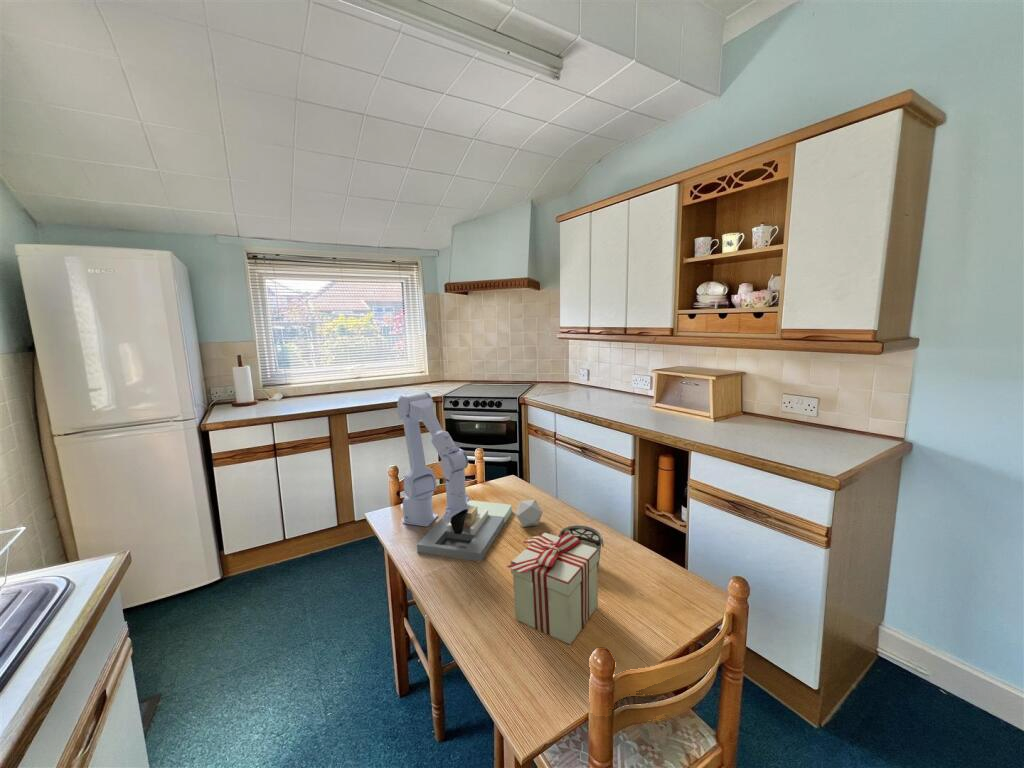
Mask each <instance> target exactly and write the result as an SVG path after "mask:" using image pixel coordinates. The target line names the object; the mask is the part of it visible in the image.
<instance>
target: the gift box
mask: <svg viewBox="0 0 1024 768" xmlns="http://www.w3.org/2000/svg"><path fill="white" fill-rule="evenodd" d="M580 542H581V541H580V540H579V539H578V538H576V537H575V536H573V535H572V534H571V533H569V532H566V533H564V534H563V535H562V536H561V537H559V535H553V534H551V533H549V532H548V533H547V532H543V533H542V534H541V535H540V534H538V535H535V536H532V537H531V538H529V539H527V540H523V541H522V543H523V544H529V545H528V546H527V547H526V548H525V549H524V550H522V552H520V553H519V554H518V555H517V556H516V557H515V558H514V559H511V561H510V565H507V566H506V567H507V568H509V569H510V573H511V575H512V577H513V578H512V579H513V600H514V601H513V602H514V615H515V617H514V618H515V620H516V621H518V622H519V623H522V624H524V625H527V626H528V627H531V628H533V629H535V630H537V631H539V632H541V633H543V634H546V635H547V636H550V637H552V638H554V639H556V640H559V641H561V642H562V643H565V644H567V645H572V644H573V642H574V641H575V639H576V637H577V636H578V635H579V633H580V632H581V630H583V629H584V627H585V625H586V624H587V622H588V621H589V619H590V618H591V616H592V615H593V614H594V612H595V611H596V609H597V608H598V607H599V596H598V595H599V592H598V591H599V590H598V587H599V586H598V574H597V562H598V561H599V562H600V559H599V549H597V548H594V547H591V546H588V545H584V544H581V543H580Z"/></svg>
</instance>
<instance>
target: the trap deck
mask: <svg viewBox="0 0 1024 768" xmlns="http://www.w3.org/2000/svg"><path fill="white" fill-rule="evenodd" d="M467 504H469V505H470V506H477V511H478V519H477V520H476V521H475V523H474V524H473V525H472V526H471V528H465V527H463V531H462V533H461V534H455V533H454V531H453V528H452V525H451V523H450V522H444V519H443V516H442V517H441V518H440V519H439V520H438V521H437V522H436V523H435V524H434V525H433V527H431V528H430V530H429V531H428V532H427V533H426V534H425V535H424V536H423V537H422V538H421V540H419V542H418V543H417V544H416V549H417V550H416V551H417V553H421V554H428V555H435V556H441V557H446V558H447V557H448V558H453V559H461V560H465V561H466V560H467V561H474V562H479V563H481V562H482V561H483V560H484V558H485V555H486V554H487V552H488V551H489V549H490V547H491V546H492V544H493V543H494V541H495V540H496V538H497V536H498V535H499V533H500V532H501V530H502V528H503V527H504V525H505V524H506V522H507V520H508V519H509V517H510V516H511V514H512V512H513V505H512V504H508V503H499V502H490V501H481V500H470V499H469V501H468V502H467Z"/></svg>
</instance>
